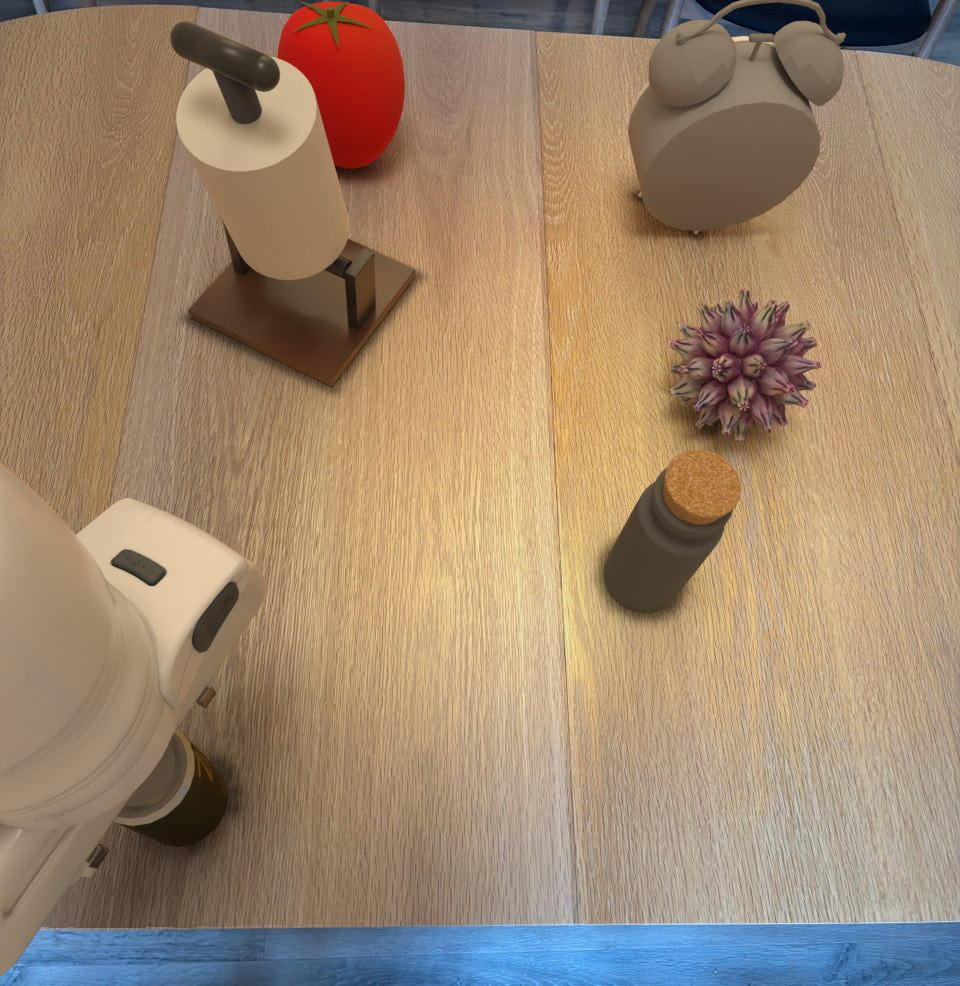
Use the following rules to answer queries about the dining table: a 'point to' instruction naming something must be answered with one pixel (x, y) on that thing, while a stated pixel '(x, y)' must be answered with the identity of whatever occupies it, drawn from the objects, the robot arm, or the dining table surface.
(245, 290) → the holder base
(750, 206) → the alarm clock
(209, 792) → the beer can
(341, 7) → the tomato
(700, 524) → the bottle
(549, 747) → the dining table surface
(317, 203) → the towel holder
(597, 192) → the dining table surface
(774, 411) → the flower
